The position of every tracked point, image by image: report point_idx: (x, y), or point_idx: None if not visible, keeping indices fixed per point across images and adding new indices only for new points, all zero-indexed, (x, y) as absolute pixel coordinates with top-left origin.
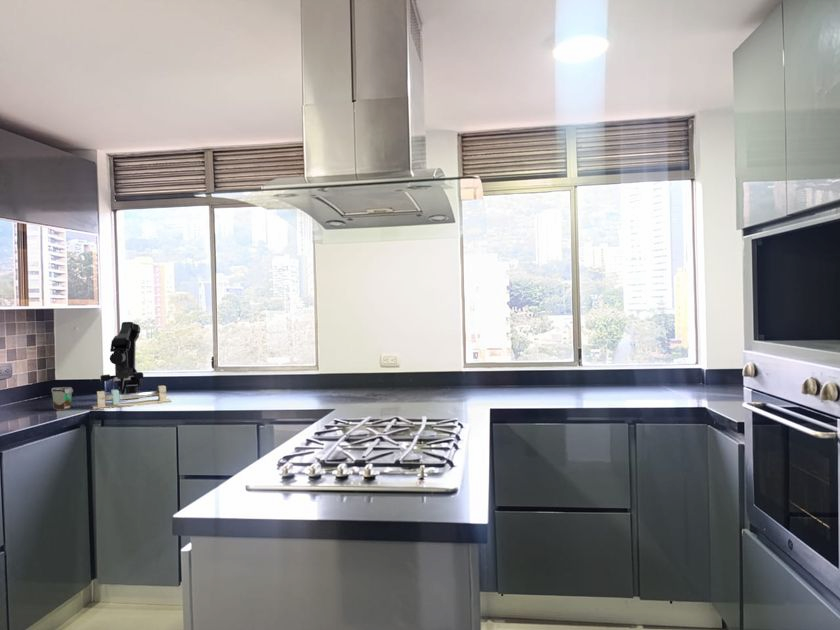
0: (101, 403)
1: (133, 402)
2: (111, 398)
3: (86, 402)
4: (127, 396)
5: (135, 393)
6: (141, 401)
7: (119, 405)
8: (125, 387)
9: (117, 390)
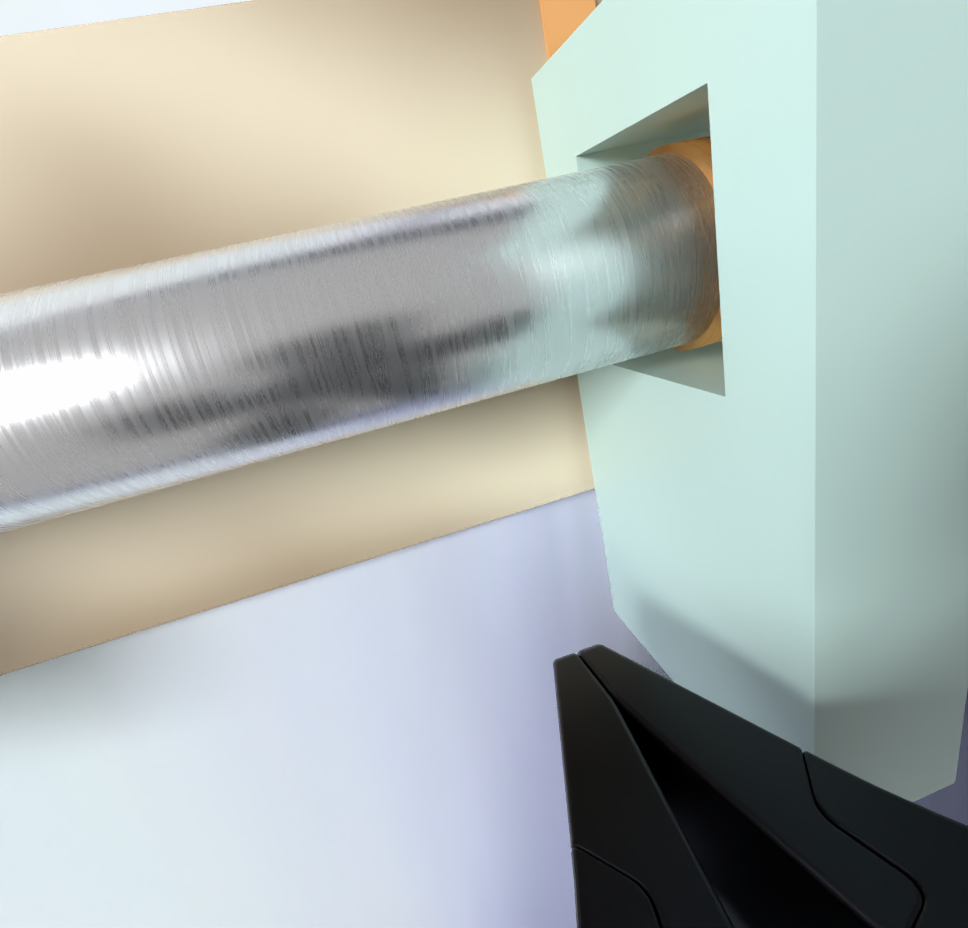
0: None
1: None
2: None
3: None
4: (360, 222)
5: (20, 352)
6: (77, 537)
7: (518, 20)
8: (577, 846)
9: (835, 449)
